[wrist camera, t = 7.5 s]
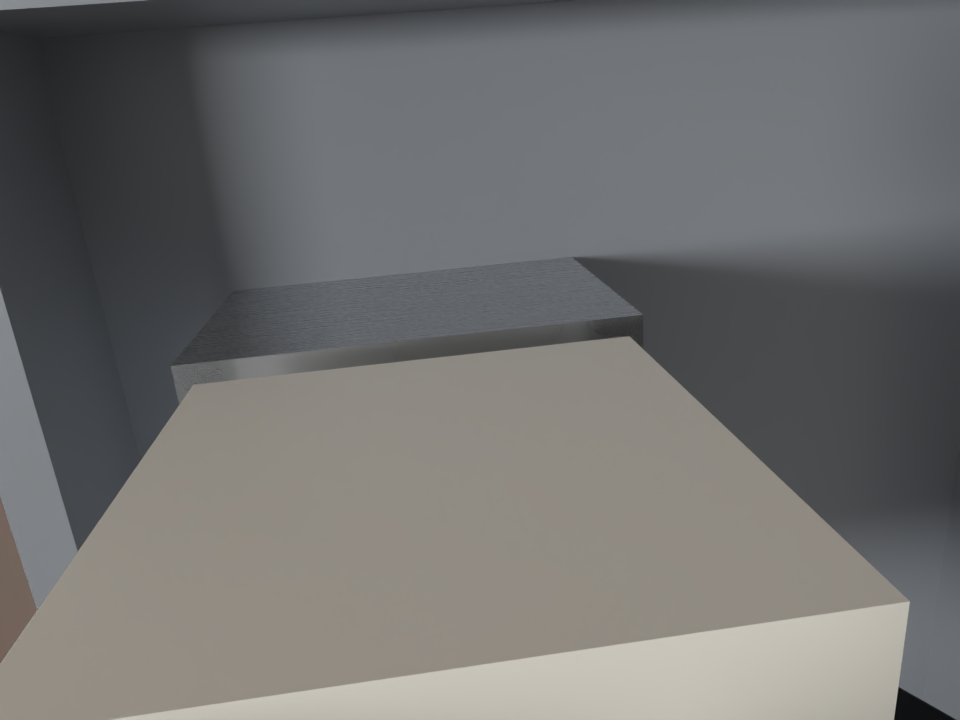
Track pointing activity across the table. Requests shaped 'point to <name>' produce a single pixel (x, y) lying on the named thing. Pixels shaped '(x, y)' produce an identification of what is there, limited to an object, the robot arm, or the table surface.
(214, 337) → the steel block
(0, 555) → the table surface
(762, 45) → the tray
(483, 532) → the cream box
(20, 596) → the table surface
